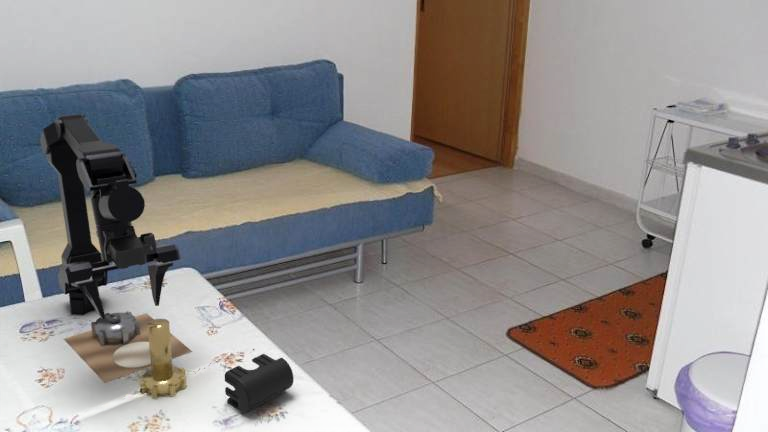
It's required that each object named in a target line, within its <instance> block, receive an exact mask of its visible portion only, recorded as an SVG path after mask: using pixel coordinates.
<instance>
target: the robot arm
mask: <svg viewBox="0 0 768 432" xmlns="http://www.w3.org/2000/svg"><path fill="white" fill-rule="evenodd" d="M39 141H40V148H41V151H42V153H43V155H45V158H46V161H47V162H48V163H49V165H50V166H51V167H52V169H54V170H55V172H56V173H57V179H58V186H59V192H60V199H61V205H62V211H63V219H64V225H65V233H66V239H67V244H66V246H64V247H65V248H64V249H63V252H62V254H61V258H60V259H61V266H60V267H59V270H58V274H57V280H58V285H59V288H60V289H61V291H62V292H63V294H64V295H68V296H69V297H68V298H69V307H70V314H71V315H75V316H85V315H87V314H88V313H92V312H95V311H96V312H97V314H98V316H99V318H100V317H101V319H105V310H104V306H103V303H102V300H101V297H100V291H99V290H100V289H99V288H100V287H102V286H103V287H105V286H108V275H109V274H108V273H109V272H111V271H114V270H118V269H120V270H121V269H122V270H123V269H128V268H129V267H133V266H138V265H139V266H142V265H146V264H148V263H150V264H148V265H147V271H148V276H149V282H150V288H151V289H150V290H151V296H152V300H153V303H154V306H156V307H159V306H160V300H161V295H162V290H163V289H162V287H163V282H164V279H165V275H166V272H168V269H169V268H171V267H174V261H179V260H181V256H180V250H179V248H178V246H176V245H175V244H172V243H171V244H170V243H169V244H168V243H165V244H160V245H157V242H156V237H155V234H154V233H153V232H146V233H142V234H140V236H138V235H137V233H136V229H135V227H134V225H133V224H132V222H133V221H136V220H137V219H139V218H140V217H141V216H142V214H143V213H144V210H145V207H146V205H145V198H144V197H143V195H142V193H141V192H140V191H139V190H138V189H136V188H134V187H132V186H131V185H137V183H138V182H137V172H136V170H135V169H134V166H133V165H132V163H131V161H130V159H129V158H127V155H126V153H125V152H123V151H122V150H121V148H120V147H118V146H117V145H115V144H114V143H111V142H110V143H109V142H106V141H105V142H104V141H102V140H101V138H100V137H99V136H98V134H97V133H96V132H95V130H94V129H93V128H92V126H91V125H90V124H89V123H88V120H87V116H86V115H85V114H82V113H71V114H63V115H62V114H61V115H59V116H57V117H55V119H54V122H52V123H51V124H49V125H47V126H46V127H44V128H43V129H42V131H41V135H40V139H39ZM85 191H86V192H90V203H91V204H90V205H91V209H92V212H93V220H94V224H95V230H96V231H95V232H96V237H97V239H98V243H99V249H100V251H99V249H98V248H97V247H96V245H94V244H93V242H92V235H91V229H90V221H89V220H90V219H89V214H88V213H89V212H88V207H87V200H86V192H85ZM110 263H112V264H110Z"/></svg>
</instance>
